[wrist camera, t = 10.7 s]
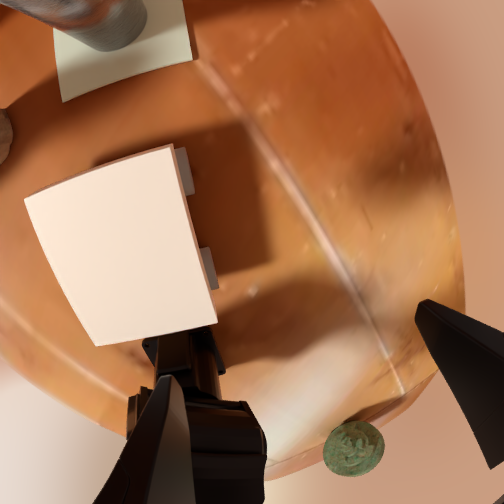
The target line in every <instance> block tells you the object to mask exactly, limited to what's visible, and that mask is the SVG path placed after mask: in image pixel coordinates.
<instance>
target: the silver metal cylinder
mask: <svg viewBox="0 0 504 504" xmlns="http://www.w3.org/2000/svg"><path fill="white" fill-rule="evenodd" d="M0 4H3V5H5V6H8V7H10V8H13V9H15V10H17V11H19V12H22V13H24V14H26V15H28V16H31V17H33V18H35V19H37V20H39V21H41V22H43V23H45V24H47V25H49V26H51V27H53V28H55V29H57V30H59V31H61V32H63V33H65V34H67V35H69V36H71V37H73V38H74V39H76V40H78V41H80V42H82V43H84V44H85V45H87V46H89V47H91V48H92V49H94V50H97V51H101V52H111V51H116V50H119V49H122V48H124V47H126V46H127V45H129V44H130V43H132V42H133V41H134V40H135V39H136V38H137V37H138V36H139V35H140V34H141V32H142V31H143V29H144V27H145V25H146V22H147V10H146V7H145V5H144V3H143V0H0Z"/></svg>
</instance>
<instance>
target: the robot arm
mask: <svg viewBox="0 0 504 504" xmlns="http://www.w3.org/2000/svg"><path fill="white" fill-rule="evenodd" d="M415 323H416V325H417V327H418V329H419V331H420V333H421V336H422V338H423V340H424V342H425V344H426V346H427V348H428V350H429V352H430V354H431V356H432V358H433V359H434V361H435V363H436V364H437V366H438V368H439V369H440V371H441V373H442V375H443V376H444V378H445V380H446V382H447V383H448V385H449V387H450V389H451V390H452V392H453V394H454V396H455V398H456V400H457V402H458V403H459V405H460V407H461V409H462V411H463V413H464V415H465V417H466V419H467V421H468V423H469V425H470V427H471V429H472V431H473V432H474V435H475V437H476V439H477V442H478V444H479V446H480V448H481V450H482V453H483V455H484V457H485V459H486V462H487V464H488V467H489V468H490V470H491V469H492V468H494V467H496V466H497V465H499V464H500V463H502V462H503V461H504V332H501V331H499V330H497V329H495V328H492V327H491V326H488V325H486V324H484V323H482V322H480V321H477V320H475V319H473V318H471V317H468V316H466V315H464V314H462V313H460V312H457V311H455V310H453V309H450V308H448V307H446V306H444V305H441V304H439V303H437V302H435V301H432V300H430V299H426V300H423V301H421V302H419V304H418V307H417V311H416V314H415ZM204 332H207V333H204ZM147 344H149V345H147ZM142 347H143V349H144V351H145V352H146V354H147V356H148V357H149V359H150V361H151V362H152V364H153V366H154V367H155V370H154V390H152V389H147V387H143V386H140V391H139V394H136V395H135V396H131V397H129V400H128V409H127V427H126V440H127V443H126V445H125V447H124V449H123V451H122V453H121V455H120V457H119V458H120V459H118V461H117V463H116V465H115V467H114V469H113V471H112V473H111V474H110V476H109V478H108V480H107V481H106V483H105V485H104V487H103V488H102V490H101V491H100V493H99V494H98V496H97V497H96V499H95V500H94V502H93V503H92V504H263V502H264V500H265V496H264V495H265V494H264V469H265V464H266V460H267V442H266V437H265V434H264V432H263V430H262V428H261V426H260V425H259V423H258V421H257V419H256V418H255V416H254V414H253V412H252V411H251V409H250V407H249V405H248V403H247V402H246V401H239V402H237V401H226V400H222V396H221V389H220V383H219V375H223V374H225V373H226V370H225V366H224V363H223V361H222V358H221V355H220V353H219V350H218V347H217V344H216V342H215V339H214V336H213V333H212V330H211V328H209V327H201V328H196V329H192V330H187V331H182V332H178V333H173V334H168V335H163V336H158V337H152V338H147V339H144V340H143V341H142ZM493 504H504V494H503V495H502V496H501V497H500V498H499V499H498V500H497V501H496V502H495V503H493Z"/></svg>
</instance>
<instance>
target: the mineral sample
mask: <svg viewBox="0 0 504 504" xmlns="http://www.w3.org/2000/svg"><path fill="white" fill-rule="evenodd" d="M12 139H13V131H12V126H11V124H10V120H9V117H8V115H7V112H6V110H5V109H0V165H1V164H2V162H3V161H4V160H5V159H6V157H7V156H8V153H9V149H10V144H11V143H12Z"/></svg>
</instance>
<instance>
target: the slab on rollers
mask: <svg viewBox="0 0 504 504" xmlns="http://www.w3.org/2000/svg"><path fill="white" fill-rule="evenodd" d="M192 194H195V189H194V183H193V178H192V173H191V168H190V164H189V160H188V156H187V152H186V149H185V147H181V148H177V149H174V146H173V143H172V144H168V145H164V146H161V147H157V148H153V149H150V150H146V151H143V152H140V153H136V154H133V155H130V156H127V157H123V158H120V159H117V160H114V161H111V162H108V163H105V164H102V165H99V166H97V167H94V168H91V169H88V170H86V171H83V172H80V173H78V174H75V175H72V176H70V177H67V178H65V179H62V180H60V181H58V182H55V183H53V184H50V185H48V186H46V187H43V188H41V189H39V190H37V191H36V192H34V193H33V194H31V195H29V196H28V197H26V198H25V199H24V202H25V204H26V207H27V210H28V213H29V216H30V218H31V221H32V224H33V226H34V229H35V231H36V234H37V236H38V239H39V241H40V243H41V246H42V248H43V250H44V253H45V255H46V257H47V259H48V261H49V263H50V266H51V268H52V270H53V272H54V274H55V276H56V278H57V280H58V282H59V284H60V286H61V288H62V290H63V292H64V293H65V295H66V297H67V299H68V301H69V303H70V304H71V306H72V308H73V310H74V312H75V313H76V315H77V317H78V318H79V320H80V322H81V323H82V325H83V327H84V328H85V330H86V332H87V333H88V335H89V336H90V338H91V340H92V341H93V343H94V344H95V346H101V345H107V344H114V343H119V342H125V341H131V340H136V339H142V338H147V337H153V336H158V335H163V334H168V333H173V332H178V331H182V330H187V329H192V328H196V327H201V326H206V325H210V324H214V323H218V319H217V312H216V306H215V302H214V298H213V295H212V292H211V290H214V289H218V288H219V285H218V279H217V275H216V270H215V266H214V262H213V258H212V254H211V251H210V248H209V247H205V248H201V249H199V246H198V242H197V239H196V235H195V231H194V228H193V224H192V220H191V216H190V212H189V209H188V205H187V201H186V197H185V196H188V195H192Z"/></svg>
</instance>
